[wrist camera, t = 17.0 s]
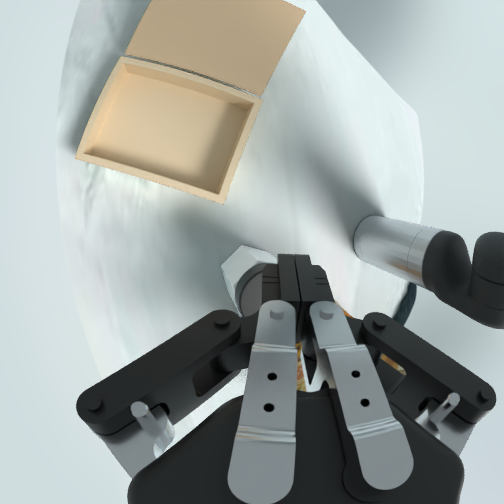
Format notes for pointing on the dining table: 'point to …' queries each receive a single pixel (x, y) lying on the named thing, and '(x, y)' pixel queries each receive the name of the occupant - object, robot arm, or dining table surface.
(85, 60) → the dining table surface
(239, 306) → the jar
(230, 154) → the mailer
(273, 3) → the lid
